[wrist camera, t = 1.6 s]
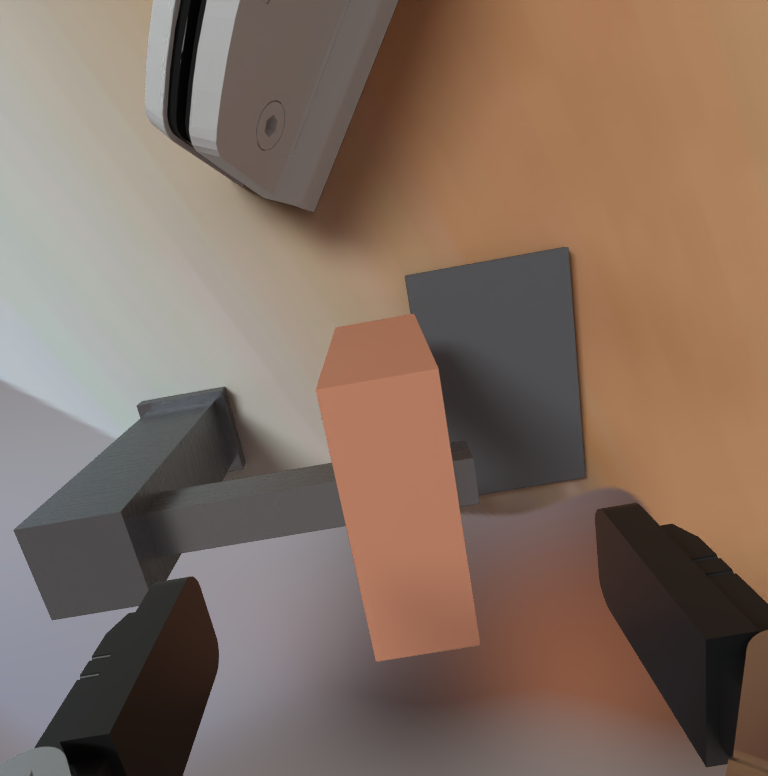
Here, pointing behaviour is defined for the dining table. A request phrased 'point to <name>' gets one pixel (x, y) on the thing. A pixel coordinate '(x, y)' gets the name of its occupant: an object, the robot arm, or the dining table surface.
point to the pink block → (397, 487)
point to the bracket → (173, 505)
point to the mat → (507, 365)
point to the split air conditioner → (262, 85)
